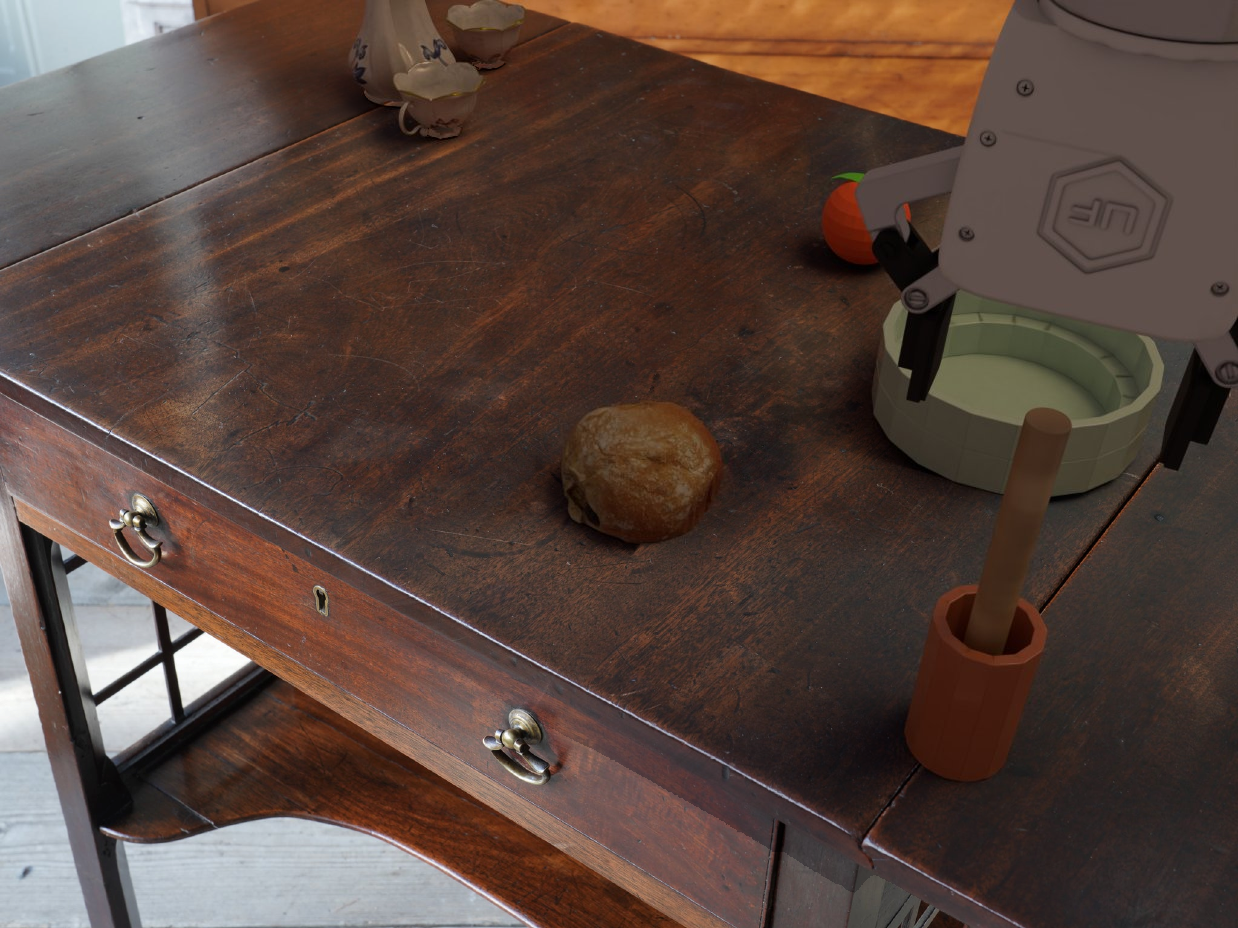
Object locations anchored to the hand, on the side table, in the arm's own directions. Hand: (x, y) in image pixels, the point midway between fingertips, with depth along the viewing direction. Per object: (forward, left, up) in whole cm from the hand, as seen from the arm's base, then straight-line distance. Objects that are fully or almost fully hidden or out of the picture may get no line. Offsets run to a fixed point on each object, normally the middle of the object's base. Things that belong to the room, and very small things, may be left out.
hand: (1043, 415), depth 48 cm
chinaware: (+66, -59, -21) cm, 91 cm away
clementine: (+18, -45, -21) cm, 53 cm away
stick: (0, 0, -20) cm, 20 cm away
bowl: (+3, -28, -21) cm, 35 cm away
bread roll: (+22, -11, -21) cm, 32 cm away
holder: (0, 0, -21) cm, 21 cm away
